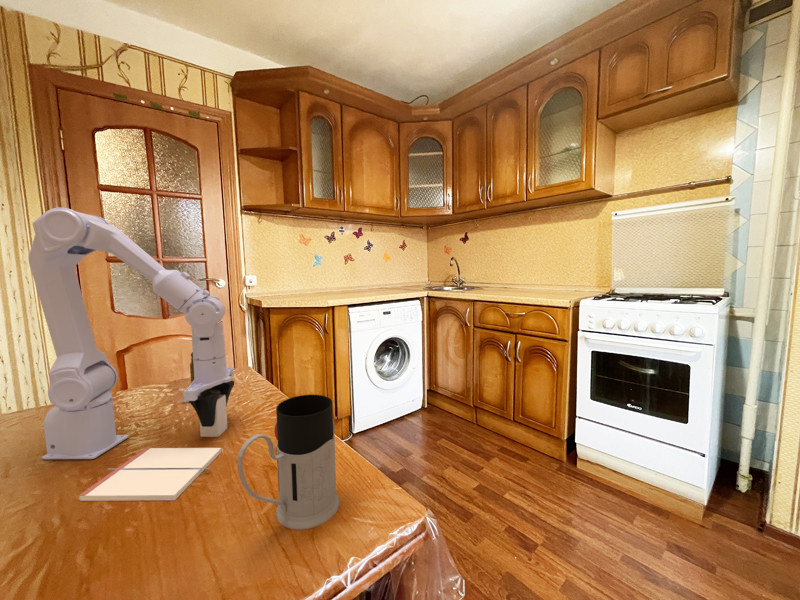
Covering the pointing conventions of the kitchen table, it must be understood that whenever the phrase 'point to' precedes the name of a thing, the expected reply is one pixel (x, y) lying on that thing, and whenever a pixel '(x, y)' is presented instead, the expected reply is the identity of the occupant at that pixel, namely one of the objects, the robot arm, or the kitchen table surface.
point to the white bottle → (217, 418)
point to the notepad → (152, 475)
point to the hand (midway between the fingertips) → (213, 421)
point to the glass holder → (302, 462)
